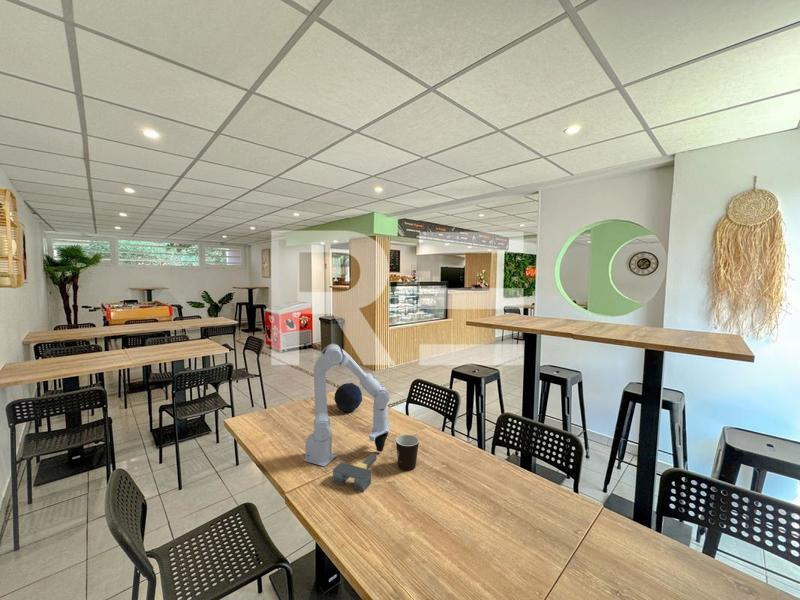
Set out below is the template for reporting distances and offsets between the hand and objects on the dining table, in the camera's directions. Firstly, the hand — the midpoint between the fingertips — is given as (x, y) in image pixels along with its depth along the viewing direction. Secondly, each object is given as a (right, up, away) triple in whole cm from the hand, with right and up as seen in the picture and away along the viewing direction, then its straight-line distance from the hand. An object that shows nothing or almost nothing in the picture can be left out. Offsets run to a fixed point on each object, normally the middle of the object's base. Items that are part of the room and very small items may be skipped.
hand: (379, 450), depth 129 cm
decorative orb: (-19, +2, +41) cm, 46 cm away
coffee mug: (+11, -2, -7) cm, 13 cm away
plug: (-4, -1, -10) cm, 11 cm away
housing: (-8, -2, -19) cm, 21 cm away
